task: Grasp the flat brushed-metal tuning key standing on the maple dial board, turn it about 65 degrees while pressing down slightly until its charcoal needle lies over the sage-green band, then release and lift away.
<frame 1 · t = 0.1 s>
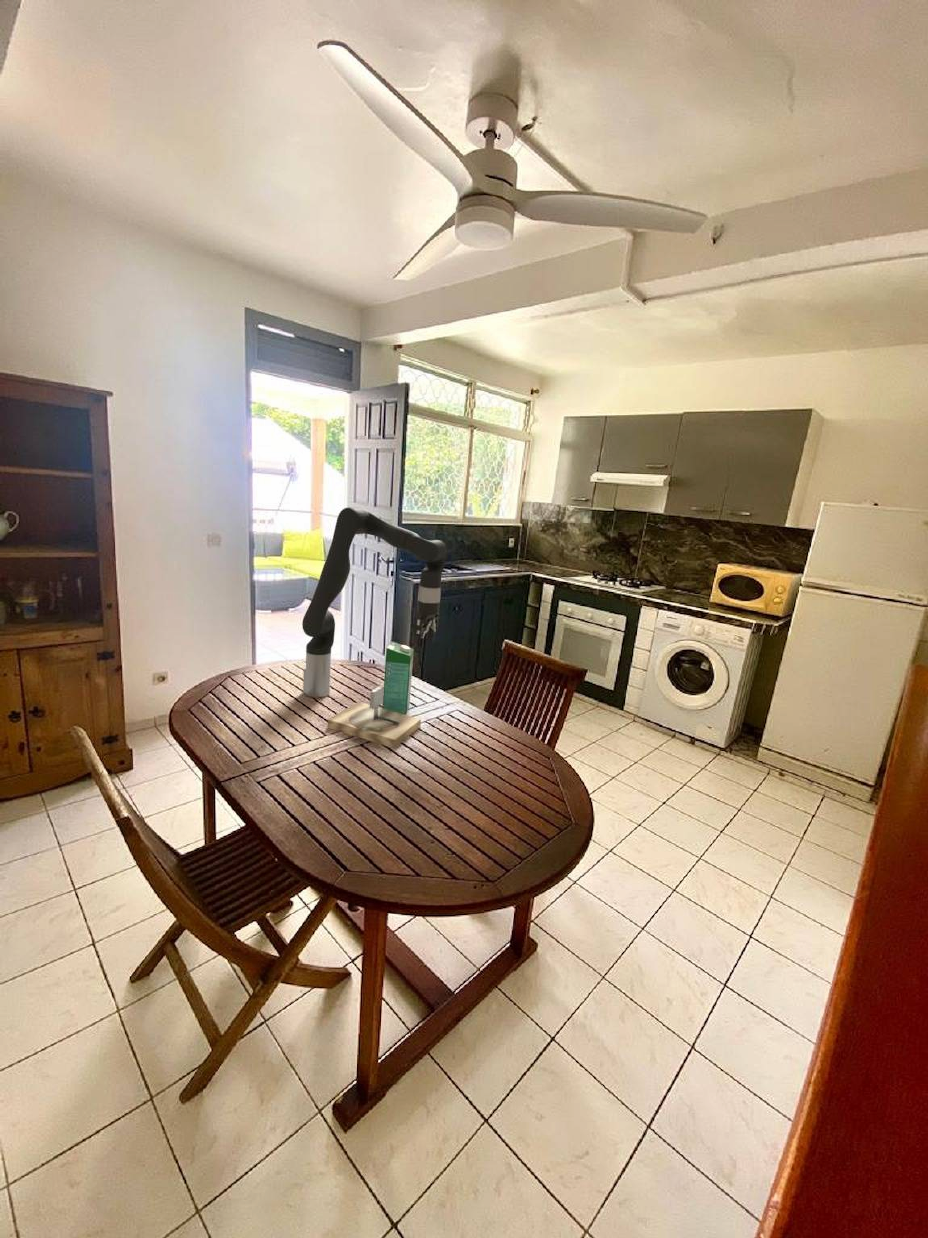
hand: (425, 645, 172), 29 cm above the table, fingers open, 8 cm apart
dial board: (374, 727, 172), on the table
milk carton: (396, 708, 189), on the table
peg: (386, 706, 168), point 9 cm above the table, hinge at 0.0°
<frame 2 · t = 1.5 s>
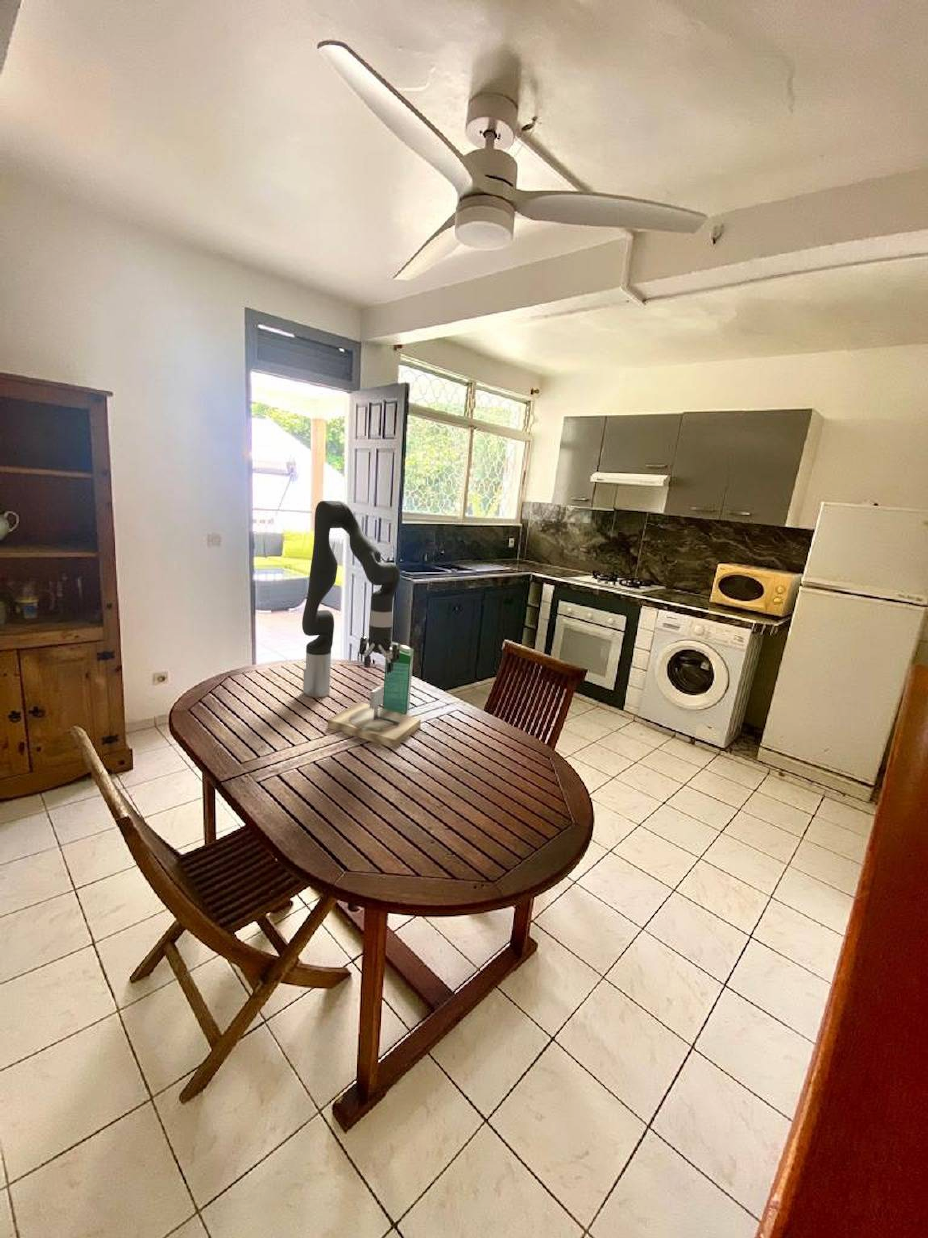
hand: (378, 669, 167), 21 cm above the table, fingers open, 8 cm apart
nothing on the table moved.
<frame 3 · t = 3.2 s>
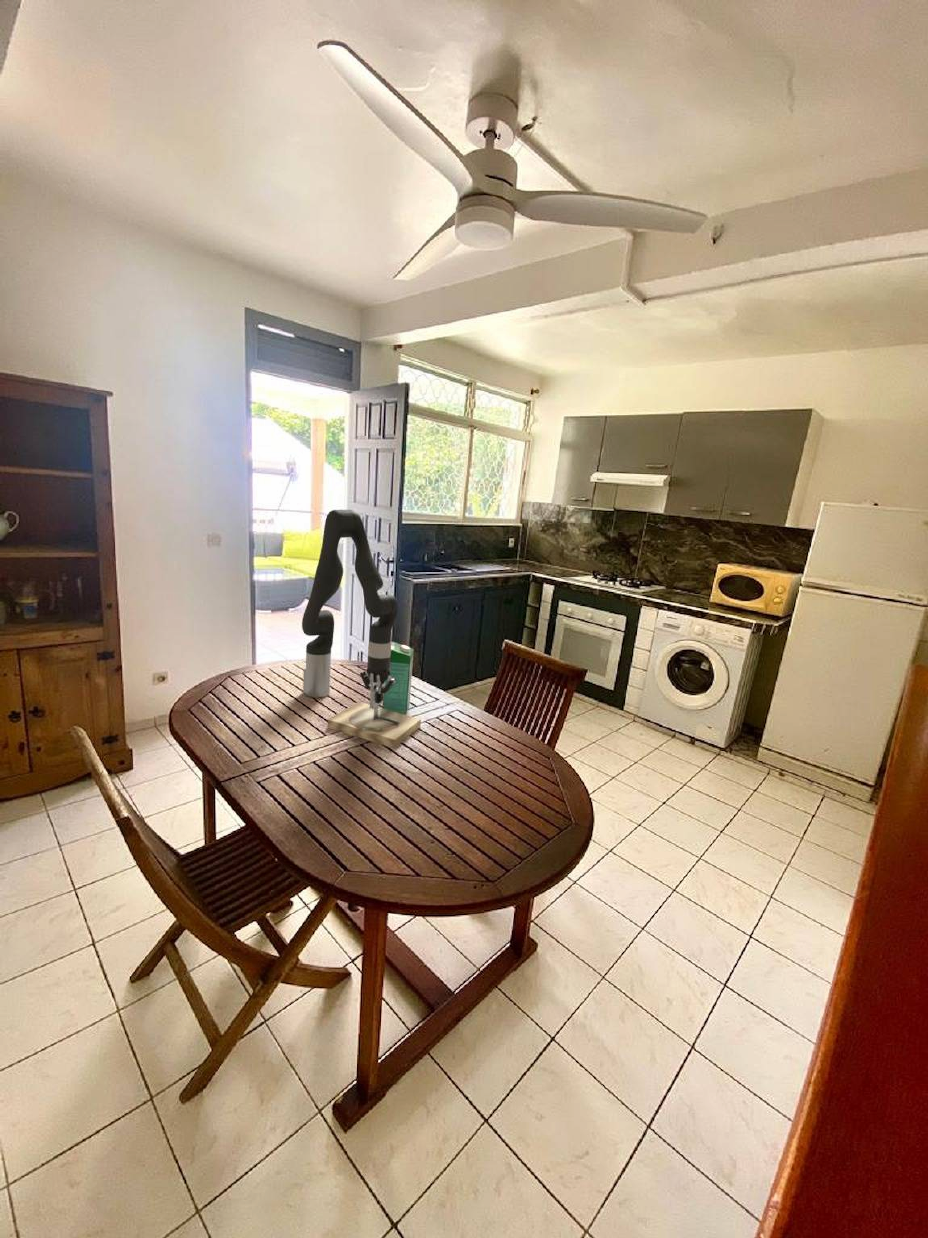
hand: (376, 701, 170), 10 cm above the table, fingers closed
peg: (386, 706, 168), point 9 cm above the table, hinge at 0.0°, touching gripper
everything else where it was.
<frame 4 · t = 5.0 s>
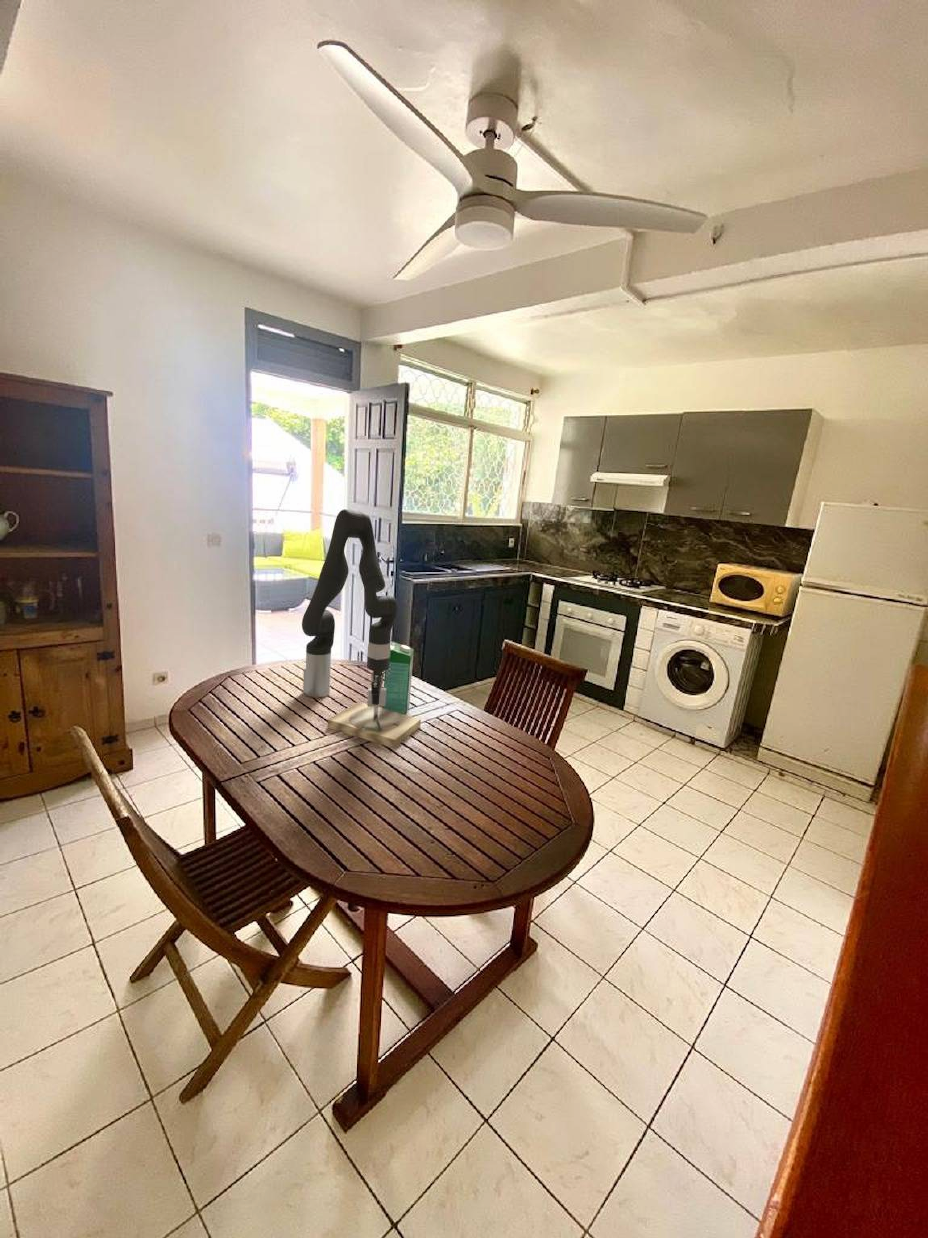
hand: (376, 702, 170), 9 cm above the table, fingers closed on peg, 2 cm apart
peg: (378, 708, 166), point 9 cm above the table, hinge at -48.7°, touching gripper
everything else where it was.
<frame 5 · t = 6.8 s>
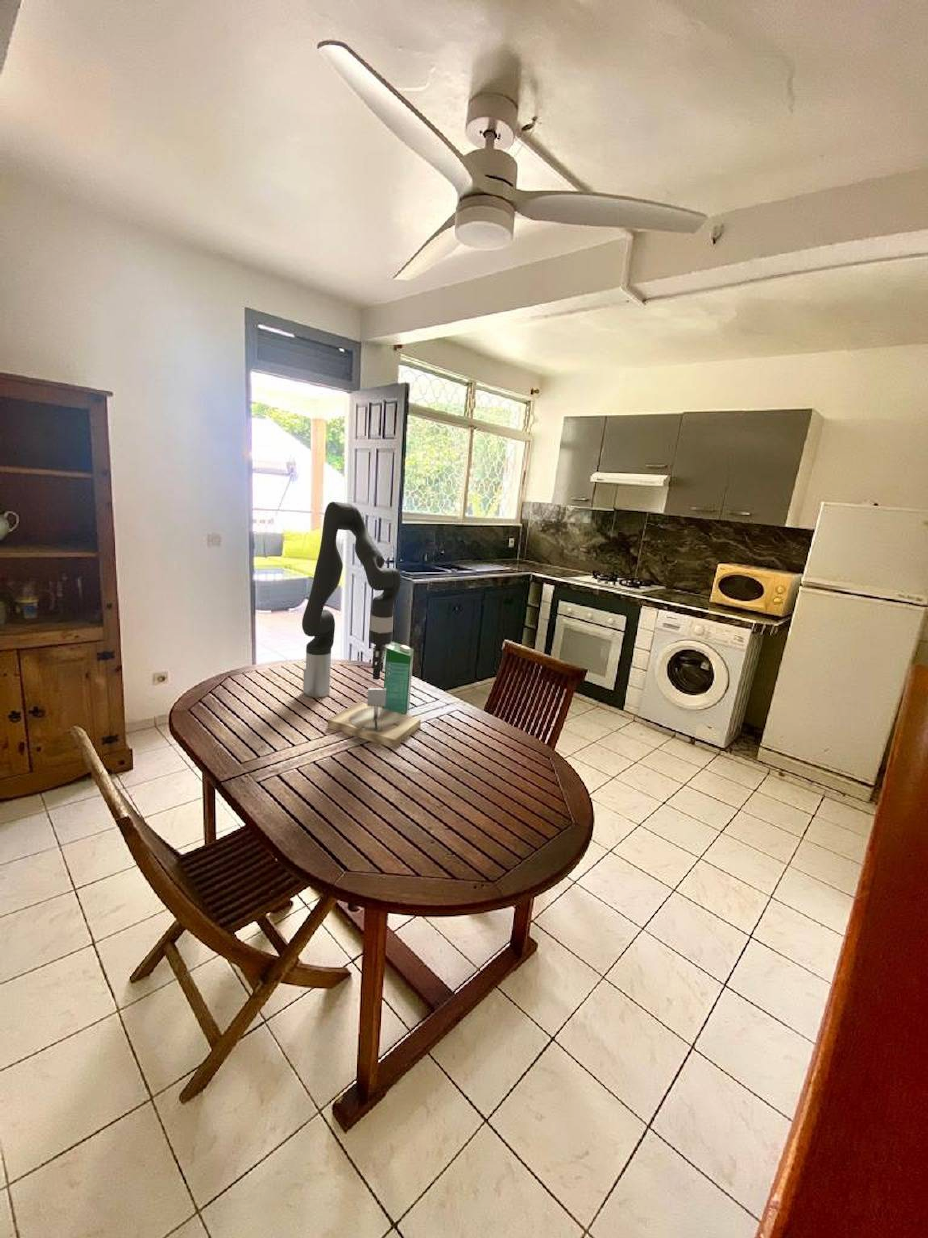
hand: (377, 674, 167), 20 cm above the table, fingers open, 8 cm apart
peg: (376, 708, 166), point 9 cm above the table, hinge at -56.2°
everything else where it was.
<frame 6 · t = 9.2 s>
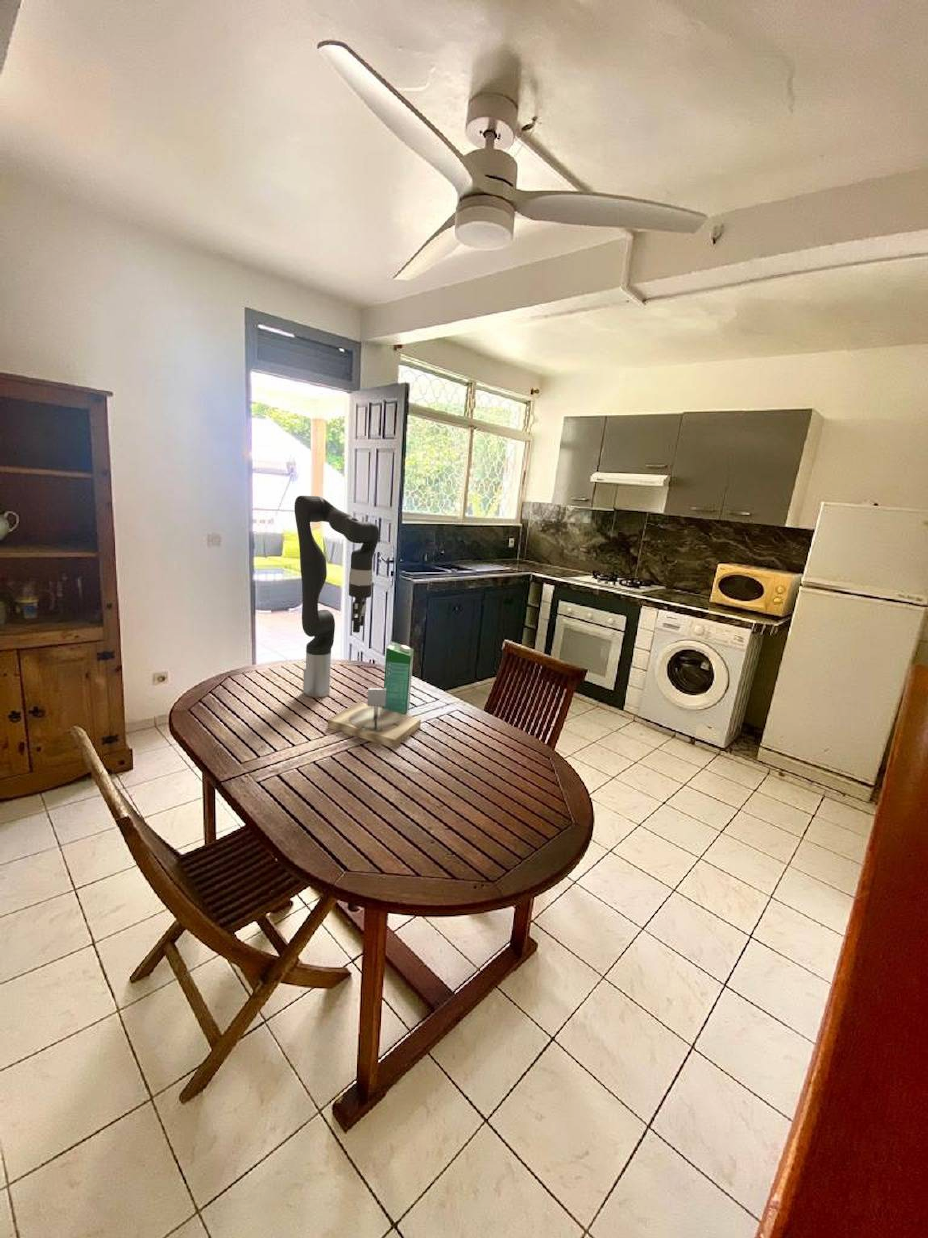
hand: (358, 628, 169), 33 cm above the table, fingers open, 8 cm apart
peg: (376, 708, 166), point 9 cm above the table, hinge at -57.4°
everything else where it was.
at the end: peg at -57° (first picture: +0°); the gripper is holding nothing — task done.
